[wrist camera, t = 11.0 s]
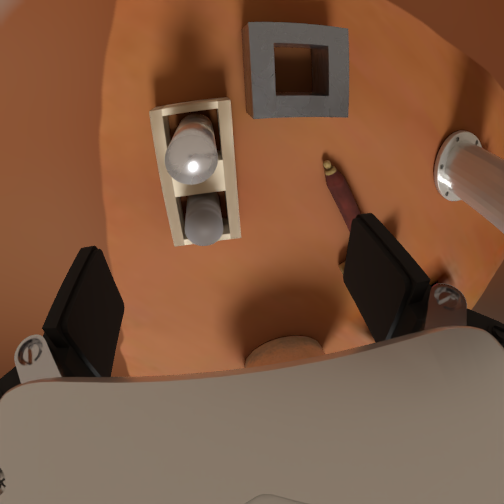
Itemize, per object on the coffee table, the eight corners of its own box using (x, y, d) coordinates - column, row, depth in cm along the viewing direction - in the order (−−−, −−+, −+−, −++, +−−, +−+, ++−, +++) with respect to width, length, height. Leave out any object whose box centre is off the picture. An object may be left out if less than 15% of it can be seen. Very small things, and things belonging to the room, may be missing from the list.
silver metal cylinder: (211, 111, 29) (215, 130, 19) (214, 144, 31) (220, 181, 22) (175, 116, 29) (160, 138, 19) (180, 149, 31) (169, 188, 21)
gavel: (296, 186, 33) (365, 146, 31) (287, 175, 37) (349, 139, 35) (354, 295, 44) (406, 263, 42) (344, 278, 47) (393, 248, 45)
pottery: (347, 323, 55) (375, 381, 43) (313, 380, 67) (329, 429, 55) (240, 326, 50) (253, 398, 38) (227, 386, 62) (234, 442, 50)
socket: (328, 32, 25) (348, 28, 21) (329, 110, 31) (348, 117, 27) (241, 29, 24) (248, 22, 20) (246, 112, 30) (253, 118, 26)
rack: (227, 97, 28) (233, 102, 23) (237, 221, 38) (244, 252, 32) (155, 106, 28) (143, 115, 22) (176, 229, 37) (172, 261, 31)
